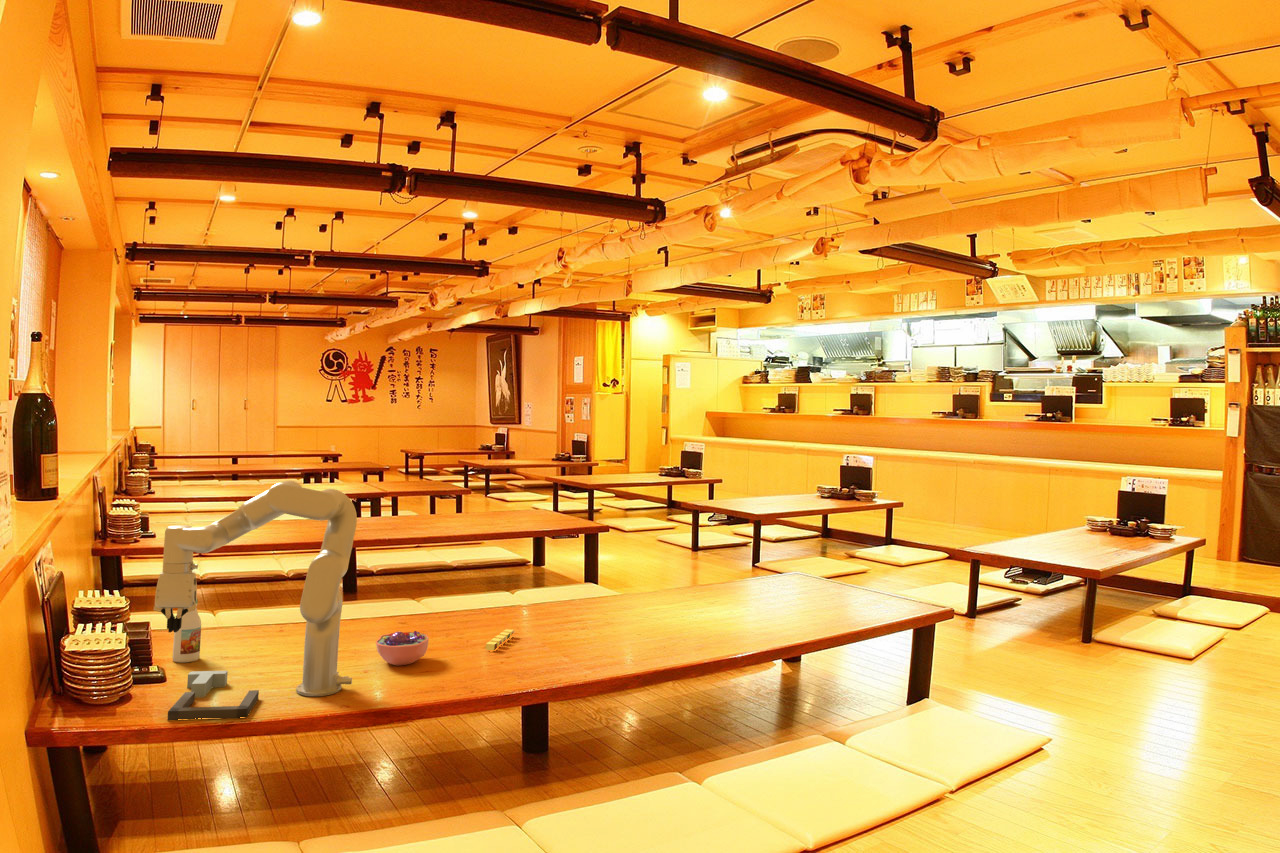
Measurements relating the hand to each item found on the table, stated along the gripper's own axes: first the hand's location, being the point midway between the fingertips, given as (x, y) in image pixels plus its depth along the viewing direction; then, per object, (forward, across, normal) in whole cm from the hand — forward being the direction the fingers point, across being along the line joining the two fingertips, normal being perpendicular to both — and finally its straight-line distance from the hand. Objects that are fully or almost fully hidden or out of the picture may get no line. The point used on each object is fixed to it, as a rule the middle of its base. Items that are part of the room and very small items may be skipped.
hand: (173, 631), depth 235 cm
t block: (+17, -9, +1) cm, 19 cm away
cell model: (+17, -64, -23) cm, 70 cm away
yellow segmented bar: (+18, -101, -45) cm, 112 cm away
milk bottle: (+17, +4, -31) cm, 36 cm away
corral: (+17, -16, +18) cm, 30 cm away
